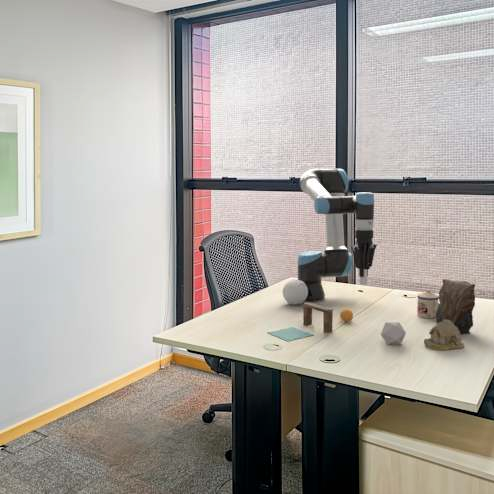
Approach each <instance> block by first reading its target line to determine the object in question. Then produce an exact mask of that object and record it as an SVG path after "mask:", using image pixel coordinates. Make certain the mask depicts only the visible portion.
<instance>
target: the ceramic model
mask: <svg viewBox="0 0 494 494" xmlns="http://www.w3.org/2000/svg"><path fill="white" fill-rule="evenodd" d="M429 330H430V331H429V333H428V334H429V335H430V338H424V341H423V344H424V347H426V348H428V349H431V350H437V351H448V350H454V349H455V350H456V349H457V350H458V349H462V348H464V347H465V346H464V343H463V342H462V339H463V338H462V336H461V334H460V332H459V330H458V328H457V327H456V326H455V325H454V324H453V323H452V322H451V321H450V320H447V319H444V320H443V322H440V323H438V324H437V323H436V325H434V326H432V328H431V329H429Z"/></svg>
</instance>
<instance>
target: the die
mask: <svg viewBox="0 0 494 494" xmlns="http://www.w3.org/2000/svg"><path fill="white" fill-rule="evenodd" d="M406 333H407V332H406V330H405V329H404V327H403V326H402V324H401V323H400V322H399V321H397V322H396V321H395V322H394V321H392V322H390V321H389V322H388V321H387V322H384V325H383V328H382V329H381V332H380V336H381V337H382V338H383V340H384V342H385V344H386V345H389V346H390V345H391V346H393V345H394V346H395V345H397V346H399V345H400V346H401V345H402V344H403V340H404V339H405V337H406Z"/></svg>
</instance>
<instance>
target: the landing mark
mask: <svg viewBox="0 0 494 494" xmlns="http://www.w3.org/2000/svg"><path fill="white" fill-rule="evenodd" d="M266 333H267V334H268V335H272V336H274V337H276V338H279V339H280V340H282V341H285V342H290V341H295V340H299V339H303V338H308V337H312V336H314V334H313V333H310V332H307V331H305V330H302V329H299V328H296V327H295V326H292V327H287V328H283V329H279V330H278V329H277V330H273V331H269V332H266Z"/></svg>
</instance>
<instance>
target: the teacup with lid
mask: <svg viewBox="0 0 494 494" xmlns="http://www.w3.org/2000/svg"><path fill="white" fill-rule="evenodd" d="M439 304H440V302H439V294H437V293H434V292H433V291H431V289H428V288H427V289H425V291H423V292H419V293H418V294H417V306H416V307H417V311H416V312H417V313H416V314H417V316H418V317H420V318H424V319H434V318H435V319H436V311H437V308H438V306H439Z"/></svg>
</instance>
